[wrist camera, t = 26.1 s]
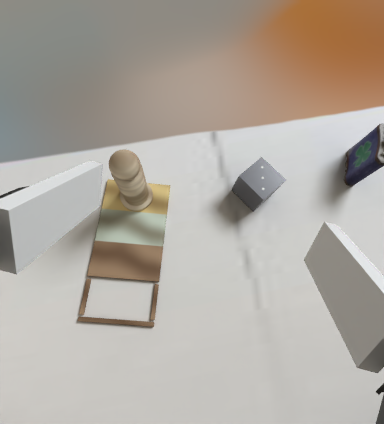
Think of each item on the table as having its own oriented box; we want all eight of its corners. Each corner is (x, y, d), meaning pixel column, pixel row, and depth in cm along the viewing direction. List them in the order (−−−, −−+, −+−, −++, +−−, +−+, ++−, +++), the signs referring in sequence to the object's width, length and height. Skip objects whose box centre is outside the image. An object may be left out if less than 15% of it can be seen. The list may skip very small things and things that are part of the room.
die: (252, 211, 46) (263, 200, 41) (231, 189, 48) (238, 175, 42) (273, 193, 48) (286, 179, 42) (251, 172, 49) (261, 156, 44)
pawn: (154, 209, 45) (145, 175, 32) (121, 212, 44) (98, 178, 31) (151, 180, 46) (142, 137, 34) (120, 183, 46) (98, 139, 33)
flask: (346, 148, 53) (387, 114, 43) (359, 152, 53) (403, 118, 42) (342, 184, 50) (385, 156, 40) (356, 188, 50) (403, 161, 39)
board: (153, 326, 39) (153, 326, 38) (78, 320, 38) (77, 321, 38) (170, 186, 47) (170, 185, 46) (108, 180, 46) (107, 179, 46)
